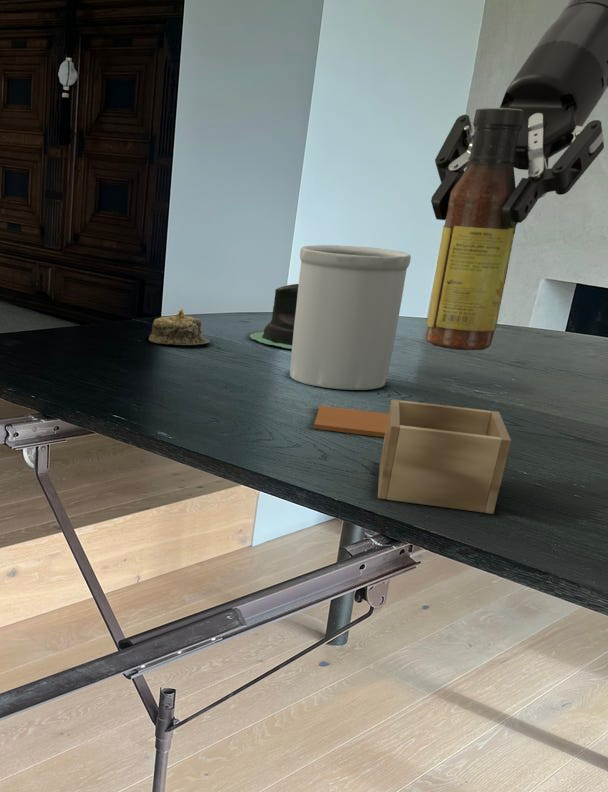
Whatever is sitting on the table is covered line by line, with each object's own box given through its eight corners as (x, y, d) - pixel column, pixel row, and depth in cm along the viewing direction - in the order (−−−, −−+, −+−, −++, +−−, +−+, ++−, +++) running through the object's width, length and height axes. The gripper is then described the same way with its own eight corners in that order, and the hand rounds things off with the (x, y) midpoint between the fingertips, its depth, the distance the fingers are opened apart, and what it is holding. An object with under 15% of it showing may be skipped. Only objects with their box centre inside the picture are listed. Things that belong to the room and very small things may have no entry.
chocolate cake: (360, 331, 177) (387, 356, 160) (264, 375, 181) (279, 405, 164) (332, 250, 171) (356, 267, 153) (232, 298, 175) (245, 320, 157)
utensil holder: (275, 383, 137) (293, 248, 130) (292, 364, 150) (309, 241, 142) (383, 397, 134) (408, 259, 126) (390, 376, 147) (413, 250, 139)
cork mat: (400, 419, 123) (400, 415, 123) (400, 439, 114) (401, 434, 114) (319, 410, 125) (319, 405, 125) (313, 429, 116) (314, 423, 116)
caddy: (483, 479, 102) (499, 411, 99) (493, 514, 92) (511, 440, 89) (379, 465, 104) (391, 399, 101) (377, 498, 94) (391, 425, 91)
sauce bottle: (504, 352, 92) (561, 111, 83) (450, 353, 90) (502, 106, 81) (459, 338, 98) (508, 110, 88) (407, 339, 95) (451, 105, 86)
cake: (148, 349, 157) (147, 313, 154) (149, 339, 166) (148, 305, 163) (211, 348, 156) (211, 313, 154) (208, 338, 165) (209, 304, 163)
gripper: (485, 39, 91) (390, 177, 89) (643, 36, 82) (542, 190, 80) (500, 107, 97) (411, 239, 95) (649, 112, 88) (554, 258, 86)
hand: (471, 216), depth 88 cm, fingers closed on sauce bottle, 6 cm apart
